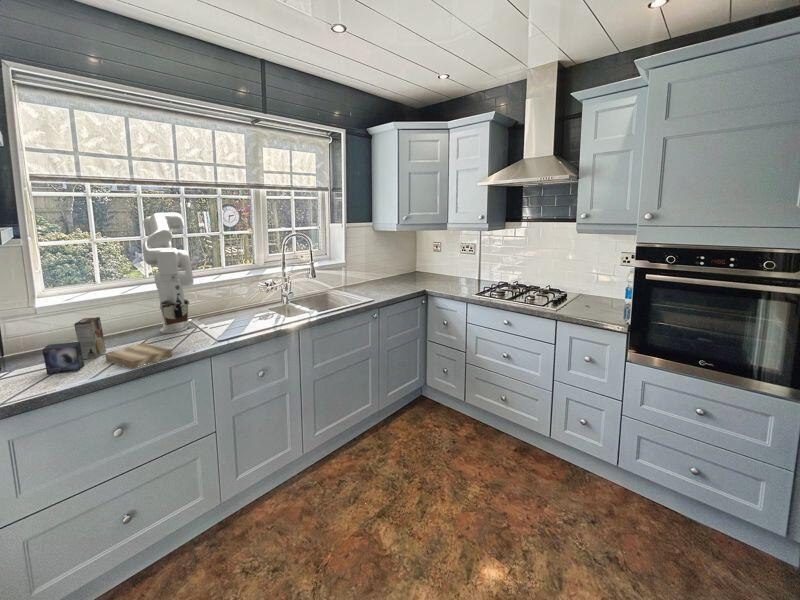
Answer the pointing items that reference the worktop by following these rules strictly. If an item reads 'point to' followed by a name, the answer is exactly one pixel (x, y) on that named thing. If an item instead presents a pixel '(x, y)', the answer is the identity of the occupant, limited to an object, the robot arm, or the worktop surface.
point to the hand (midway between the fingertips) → (174, 316)
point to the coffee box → (90, 337)
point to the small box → (63, 357)
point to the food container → (170, 315)
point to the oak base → (138, 355)
